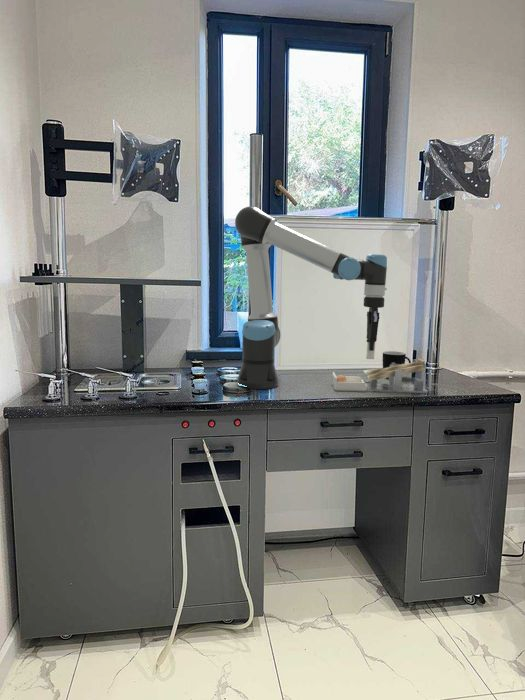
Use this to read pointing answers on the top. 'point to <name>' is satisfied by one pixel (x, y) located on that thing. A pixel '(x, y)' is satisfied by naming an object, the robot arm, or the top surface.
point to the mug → (394, 358)
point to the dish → (349, 384)
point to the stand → (397, 385)
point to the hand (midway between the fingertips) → (370, 358)
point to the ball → (341, 378)
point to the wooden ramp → (390, 371)
